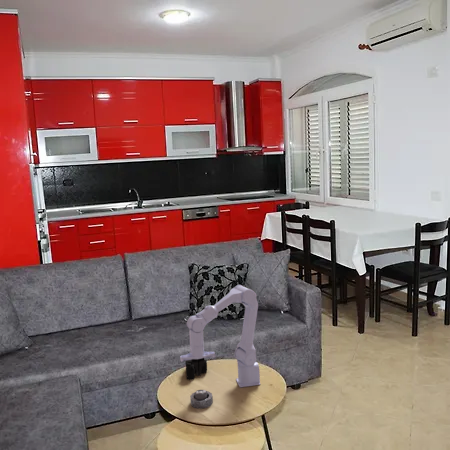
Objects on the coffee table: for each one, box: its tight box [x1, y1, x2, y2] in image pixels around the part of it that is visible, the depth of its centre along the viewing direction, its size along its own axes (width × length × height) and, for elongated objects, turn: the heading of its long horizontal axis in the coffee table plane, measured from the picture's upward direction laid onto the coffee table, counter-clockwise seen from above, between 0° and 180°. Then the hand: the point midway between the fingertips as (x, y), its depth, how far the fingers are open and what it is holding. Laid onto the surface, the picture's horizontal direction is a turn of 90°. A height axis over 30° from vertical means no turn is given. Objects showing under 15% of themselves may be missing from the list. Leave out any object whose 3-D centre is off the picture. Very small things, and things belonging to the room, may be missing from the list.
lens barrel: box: [190, 390, 214, 410], centre depth 193 cm, size 9×9×3 cm
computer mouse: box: [194, 389, 208, 400], centre depth 193 cm, size 5×5×4 cm
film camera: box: [184, 359, 208, 381], centre depth 220 cm, size 15×10×9 cm, turn 178°
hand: (198, 375), depth 197 cm, fingers closed
